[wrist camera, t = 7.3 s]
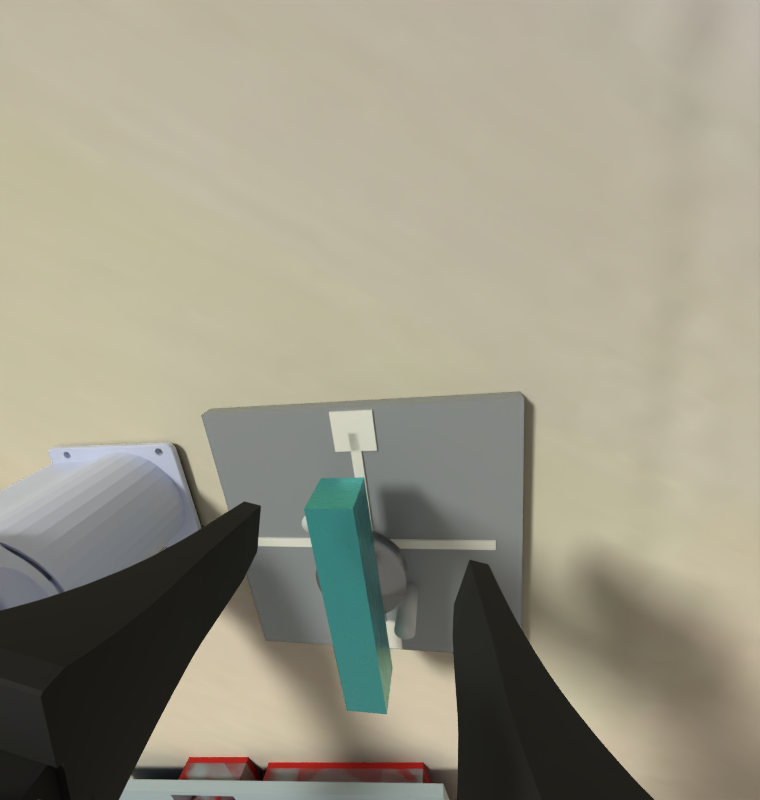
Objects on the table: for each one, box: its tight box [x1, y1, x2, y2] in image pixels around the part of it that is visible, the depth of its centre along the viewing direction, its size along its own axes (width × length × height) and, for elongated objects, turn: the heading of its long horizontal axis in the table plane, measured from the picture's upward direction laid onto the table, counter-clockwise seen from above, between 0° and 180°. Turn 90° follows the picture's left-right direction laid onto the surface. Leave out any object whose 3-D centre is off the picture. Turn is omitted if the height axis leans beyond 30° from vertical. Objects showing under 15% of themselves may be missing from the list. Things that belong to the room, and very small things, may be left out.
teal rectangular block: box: [304, 477, 408, 714], centre depth 20 cm, size 13×5×4 cm, turn 7°
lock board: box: [201, 392, 524, 653], centre depth 23 cm, size 18×18×4 cm
